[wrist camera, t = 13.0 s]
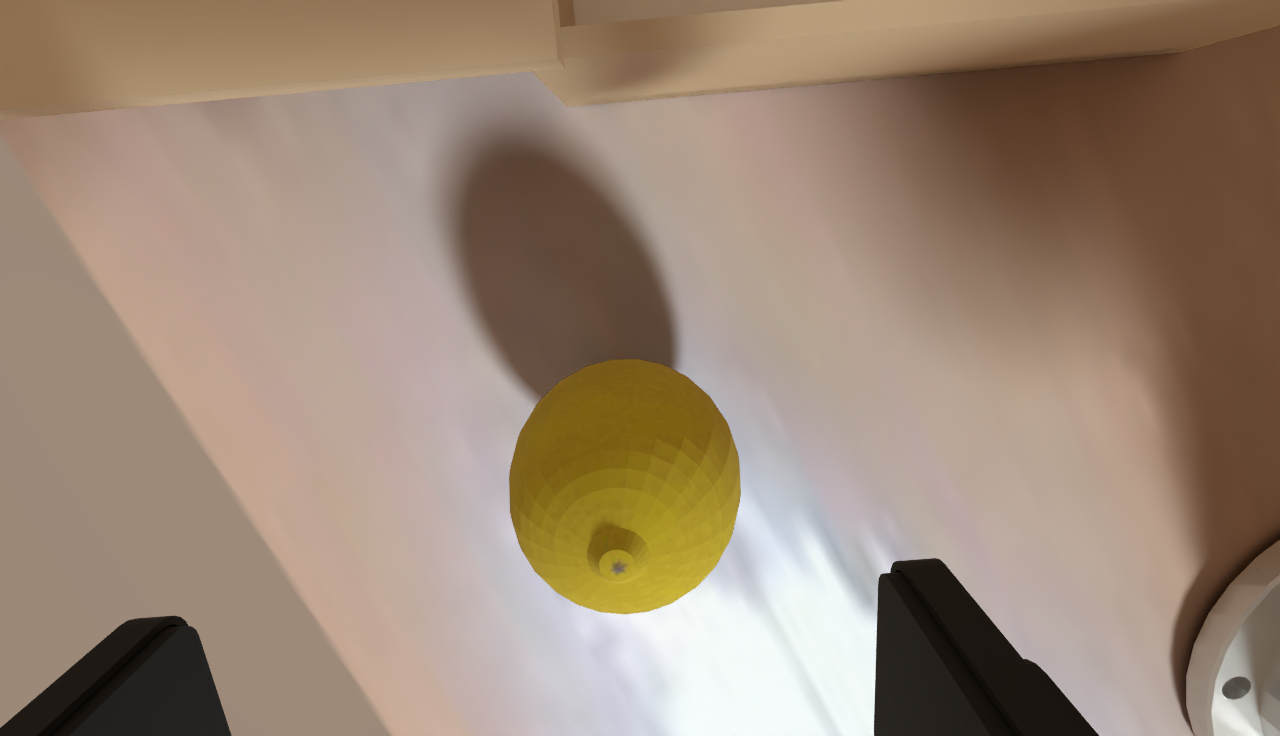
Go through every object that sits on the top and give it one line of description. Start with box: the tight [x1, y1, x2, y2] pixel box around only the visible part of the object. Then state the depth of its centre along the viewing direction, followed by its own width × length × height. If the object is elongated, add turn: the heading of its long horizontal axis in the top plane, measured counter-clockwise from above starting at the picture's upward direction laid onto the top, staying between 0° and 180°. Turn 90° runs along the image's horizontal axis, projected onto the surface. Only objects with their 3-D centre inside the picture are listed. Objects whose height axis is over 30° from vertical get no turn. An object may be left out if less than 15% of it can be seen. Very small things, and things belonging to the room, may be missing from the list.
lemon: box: [509, 359, 741, 614], centre depth 15 cm, size 6×6×8 cm
